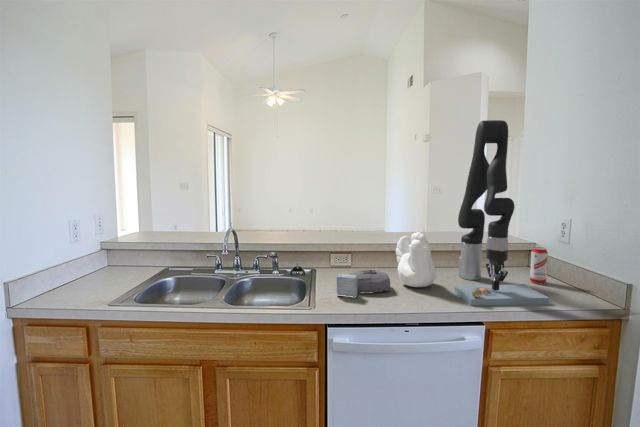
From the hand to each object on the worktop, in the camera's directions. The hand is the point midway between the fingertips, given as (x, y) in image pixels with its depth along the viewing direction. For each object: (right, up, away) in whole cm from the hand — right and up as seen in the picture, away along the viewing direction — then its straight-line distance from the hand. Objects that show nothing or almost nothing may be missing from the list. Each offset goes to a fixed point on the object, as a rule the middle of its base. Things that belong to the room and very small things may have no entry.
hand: (495, 289), depth 138 cm
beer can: (+29, -1, +18) cm, 34 cm away
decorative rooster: (-27, -2, +21) cm, 34 cm away
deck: (+2, -3, 0) cm, 4 cm away
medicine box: (-60, -4, +5) cm, 60 cm away
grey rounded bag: (-50, -3, +13) cm, 52 cm away
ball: (-5, -1, 0) cm, 5 cm away
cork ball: (-11, 0, -6) cm, 12 cm away
